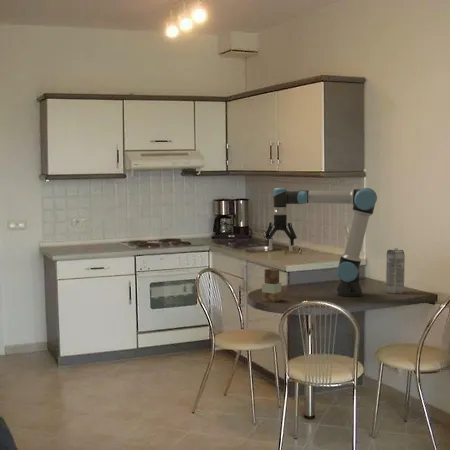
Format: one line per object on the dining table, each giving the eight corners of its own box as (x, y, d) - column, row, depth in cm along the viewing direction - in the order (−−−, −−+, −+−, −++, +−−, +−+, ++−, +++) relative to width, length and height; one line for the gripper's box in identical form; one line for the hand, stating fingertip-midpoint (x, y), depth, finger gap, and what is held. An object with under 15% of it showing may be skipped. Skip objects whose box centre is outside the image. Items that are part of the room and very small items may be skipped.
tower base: (281, 300, 409) (281, 291, 408) (273, 302, 402) (273, 293, 402) (269, 298, 414) (269, 290, 413) (261, 300, 407) (261, 292, 407)
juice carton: (404, 294, 424) (405, 249, 422) (386, 293, 426) (386, 248, 424) (403, 291, 433) (404, 247, 431) (385, 291, 435) (386, 247, 433)
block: (279, 282, 408) (279, 269, 407) (273, 284, 403) (273, 270, 402) (270, 281, 412) (270, 268, 411) (264, 283, 407) (264, 269, 406)
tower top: (281, 291, 409) (281, 282, 408) (273, 293, 402) (273, 284, 402) (269, 290, 413) (269, 281, 413) (262, 292, 407) (262, 283, 406)
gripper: (258, 214, 420) (259, 250, 422) (295, 215, 406) (296, 252, 408) (265, 213, 427) (265, 248, 428) (302, 214, 413) (302, 250, 414)
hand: (280, 250), depth 418 cm, fingers open, 13 cm apart
